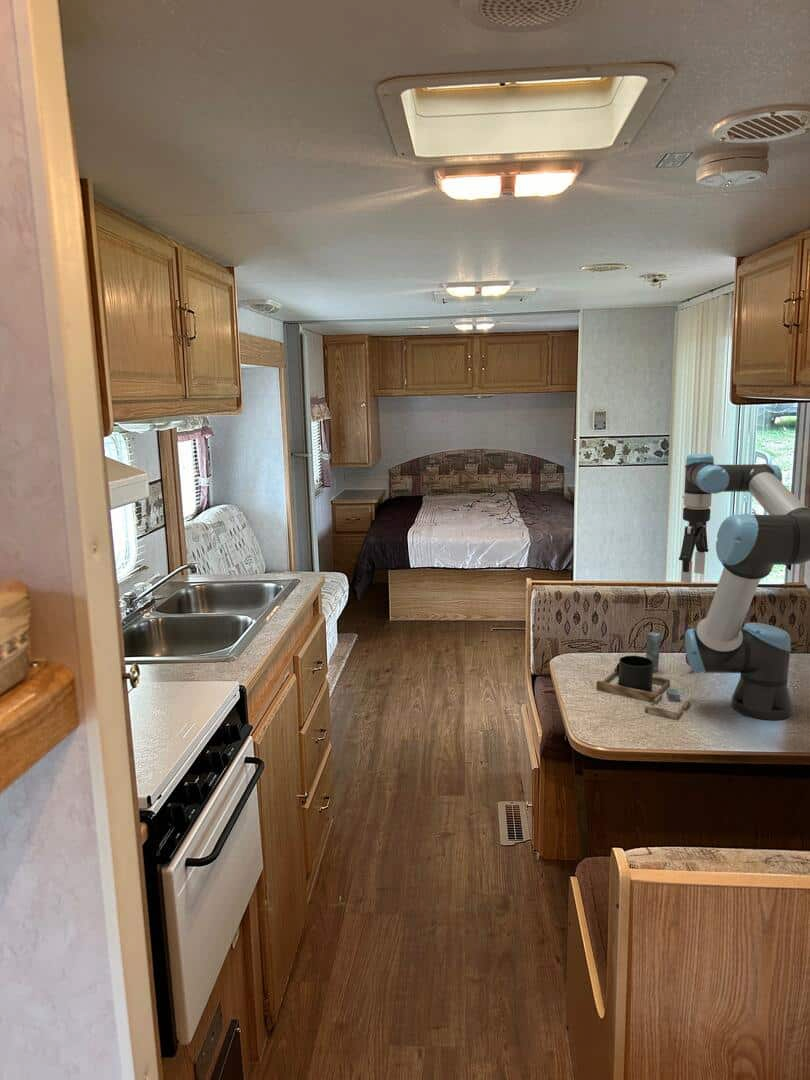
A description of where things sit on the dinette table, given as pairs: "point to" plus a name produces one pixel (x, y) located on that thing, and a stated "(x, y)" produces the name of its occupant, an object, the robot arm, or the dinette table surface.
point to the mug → (635, 672)
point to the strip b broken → (672, 696)
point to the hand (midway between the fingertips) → (692, 577)
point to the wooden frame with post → (653, 655)
